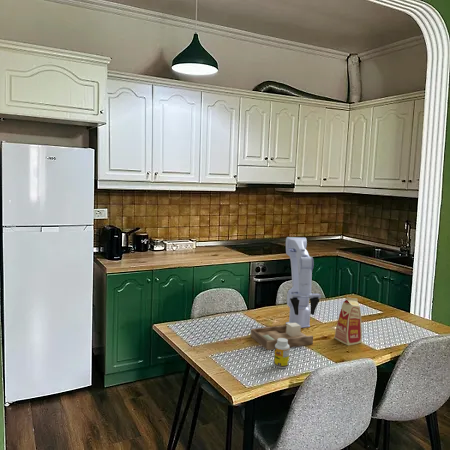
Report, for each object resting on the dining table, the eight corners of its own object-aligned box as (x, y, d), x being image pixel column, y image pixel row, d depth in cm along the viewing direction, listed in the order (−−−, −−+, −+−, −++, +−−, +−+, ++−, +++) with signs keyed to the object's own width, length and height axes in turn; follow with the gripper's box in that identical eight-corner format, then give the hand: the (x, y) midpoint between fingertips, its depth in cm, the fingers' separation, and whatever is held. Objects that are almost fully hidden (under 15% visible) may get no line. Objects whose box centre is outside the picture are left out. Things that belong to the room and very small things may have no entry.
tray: (293, 331, 203) (293, 324, 203) (312, 344, 189) (313, 336, 188) (250, 336, 195) (250, 329, 195) (267, 350, 180) (267, 342, 180)
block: (294, 332, 197) (295, 322, 196) (300, 335, 193) (300, 325, 192) (286, 333, 195) (286, 323, 195) (291, 336, 191) (291, 326, 191)
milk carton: (347, 345, 188) (350, 300, 186) (333, 338, 197) (336, 294, 194) (363, 342, 193) (366, 298, 191) (348, 335, 201) (351, 292, 199)
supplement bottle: (271, 363, 167) (272, 338, 166) (283, 361, 169) (284, 336, 168) (278, 369, 162) (280, 343, 161) (291, 367, 164) (292, 341, 163)
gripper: (293, 284, 190) (292, 316, 189) (324, 284, 193) (323, 315, 193) (287, 283, 197) (286, 313, 196) (316, 283, 200) (316, 313, 199)
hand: (304, 314), depth 195 cm, fingers open, 7 cm apart
